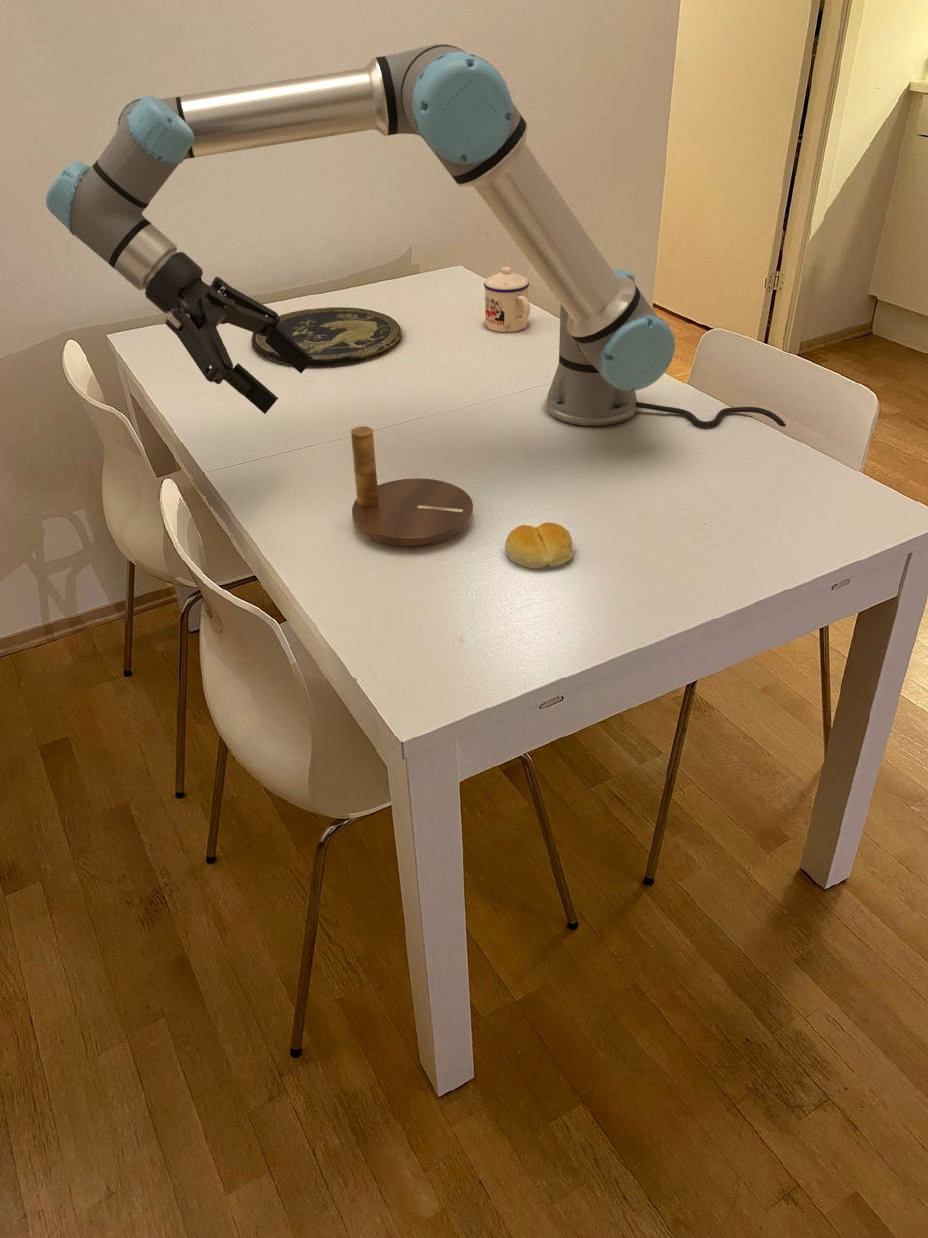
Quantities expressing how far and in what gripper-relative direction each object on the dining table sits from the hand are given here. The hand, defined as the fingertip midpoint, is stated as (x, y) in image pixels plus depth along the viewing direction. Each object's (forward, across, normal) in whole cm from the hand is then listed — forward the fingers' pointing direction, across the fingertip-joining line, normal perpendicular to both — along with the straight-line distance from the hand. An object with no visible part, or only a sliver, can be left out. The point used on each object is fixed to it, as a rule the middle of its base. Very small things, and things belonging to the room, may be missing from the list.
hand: (290, 385), depth 134 cm
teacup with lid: (+25, -80, -4) cm, 84 cm away
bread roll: (+39, +5, +9) cm, 40 cm away
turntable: (+24, 0, -2) cm, 24 cm away
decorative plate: (-1, -67, -28) cm, 73 cm away
